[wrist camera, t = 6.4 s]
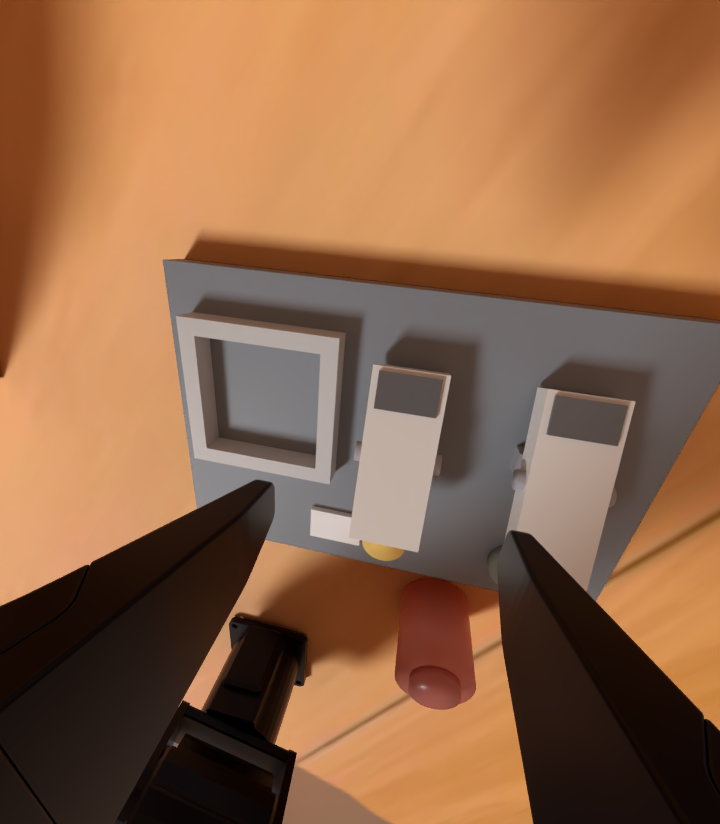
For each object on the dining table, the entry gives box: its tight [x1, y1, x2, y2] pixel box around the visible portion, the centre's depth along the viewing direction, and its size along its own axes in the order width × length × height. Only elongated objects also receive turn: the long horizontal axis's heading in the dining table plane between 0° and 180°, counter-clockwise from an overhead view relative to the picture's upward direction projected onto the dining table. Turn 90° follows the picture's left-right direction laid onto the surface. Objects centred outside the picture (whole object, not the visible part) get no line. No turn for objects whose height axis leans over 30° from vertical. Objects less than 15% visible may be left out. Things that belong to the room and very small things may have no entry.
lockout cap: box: [395, 578, 476, 710], centre depth 21 cm, size 4×4×6 cm
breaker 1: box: [349, 363, 451, 552], centre depth 16 cm, size 8×4×1 cm, turn 175°
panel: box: [163, 259, 720, 601], centre depth 18 cm, size 16×24×3 cm, turn 85°
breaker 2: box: [505, 387, 635, 591], centre depth 15 cm, size 8×4×1 cm, turn 175°
